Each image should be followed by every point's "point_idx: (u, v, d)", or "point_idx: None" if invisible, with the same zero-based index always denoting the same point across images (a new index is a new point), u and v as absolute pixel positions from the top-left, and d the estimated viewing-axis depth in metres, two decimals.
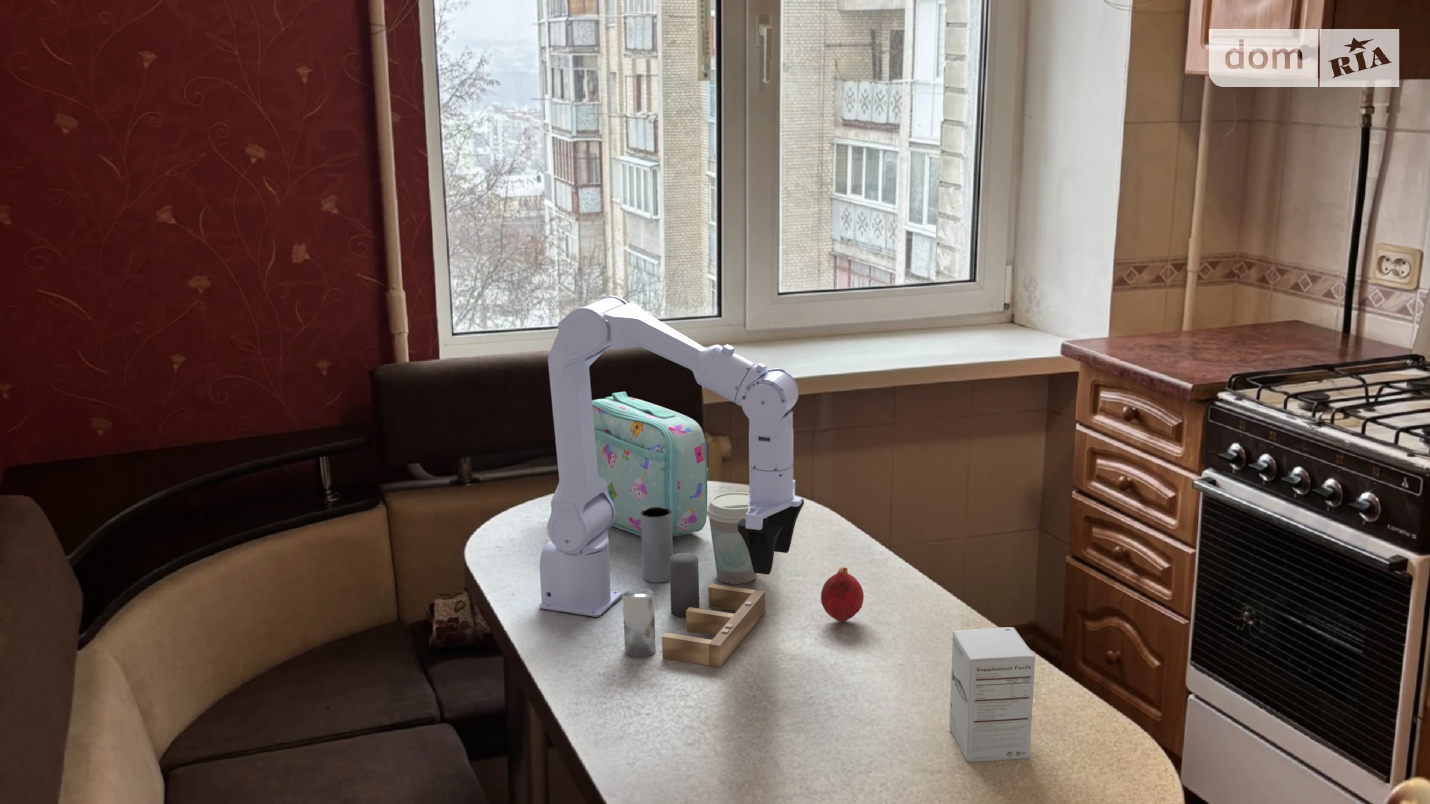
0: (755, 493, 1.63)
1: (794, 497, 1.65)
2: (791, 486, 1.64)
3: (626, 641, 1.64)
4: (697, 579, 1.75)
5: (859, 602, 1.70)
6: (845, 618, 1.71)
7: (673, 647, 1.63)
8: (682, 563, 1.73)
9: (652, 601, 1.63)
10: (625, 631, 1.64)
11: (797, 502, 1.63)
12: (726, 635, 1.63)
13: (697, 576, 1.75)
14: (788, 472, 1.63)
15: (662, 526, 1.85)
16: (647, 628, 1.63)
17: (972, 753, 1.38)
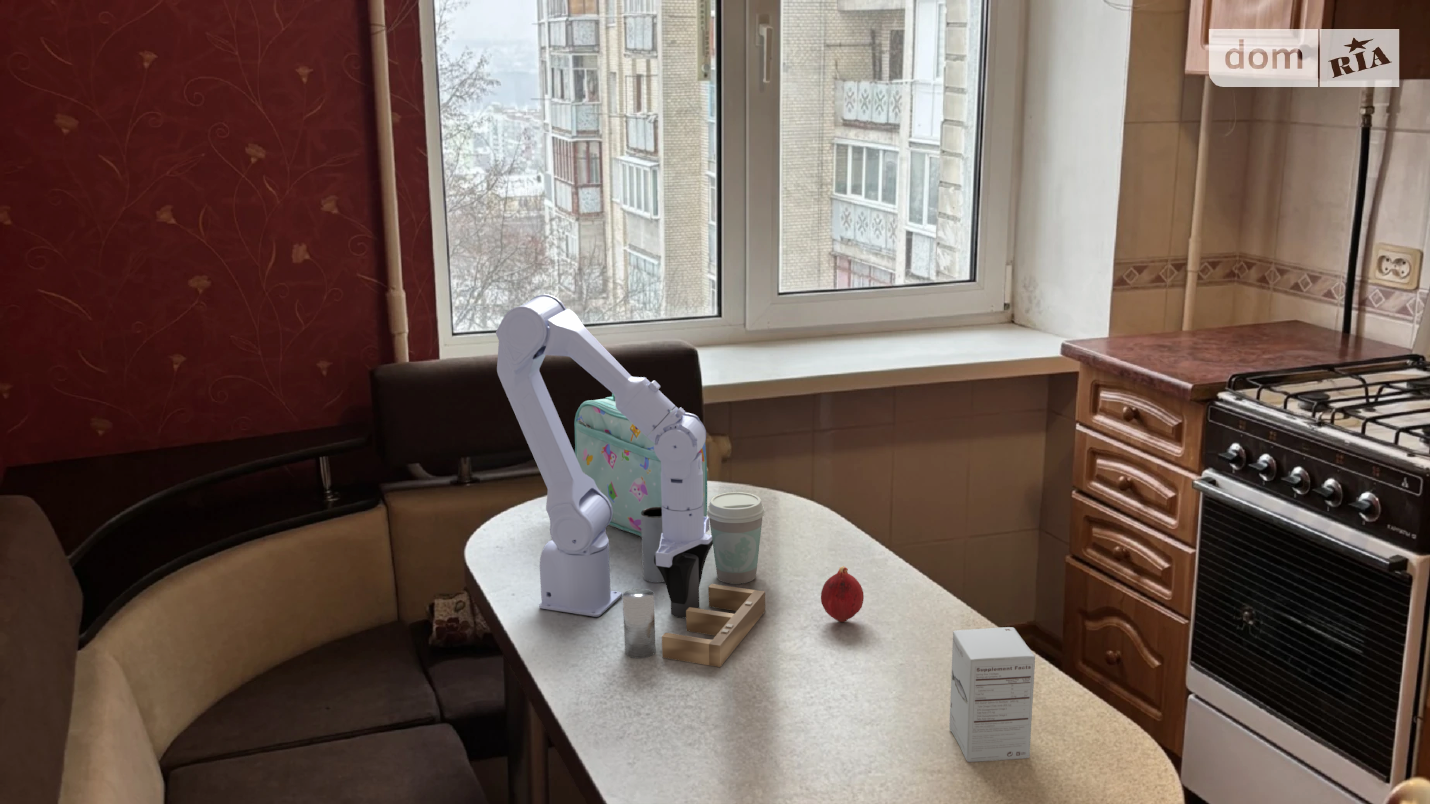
0: (667, 531, 1.72)
1: (705, 535, 1.74)
2: (701, 525, 1.72)
3: (626, 641, 1.64)
4: (697, 579, 1.75)
5: (859, 602, 1.70)
6: (845, 618, 1.71)
7: (673, 647, 1.63)
8: None
9: (652, 601, 1.63)
10: (625, 631, 1.64)
11: (707, 540, 1.72)
12: (726, 635, 1.63)
13: (697, 576, 1.75)
14: (698, 511, 1.71)
15: None
16: (647, 628, 1.63)
17: (972, 753, 1.38)
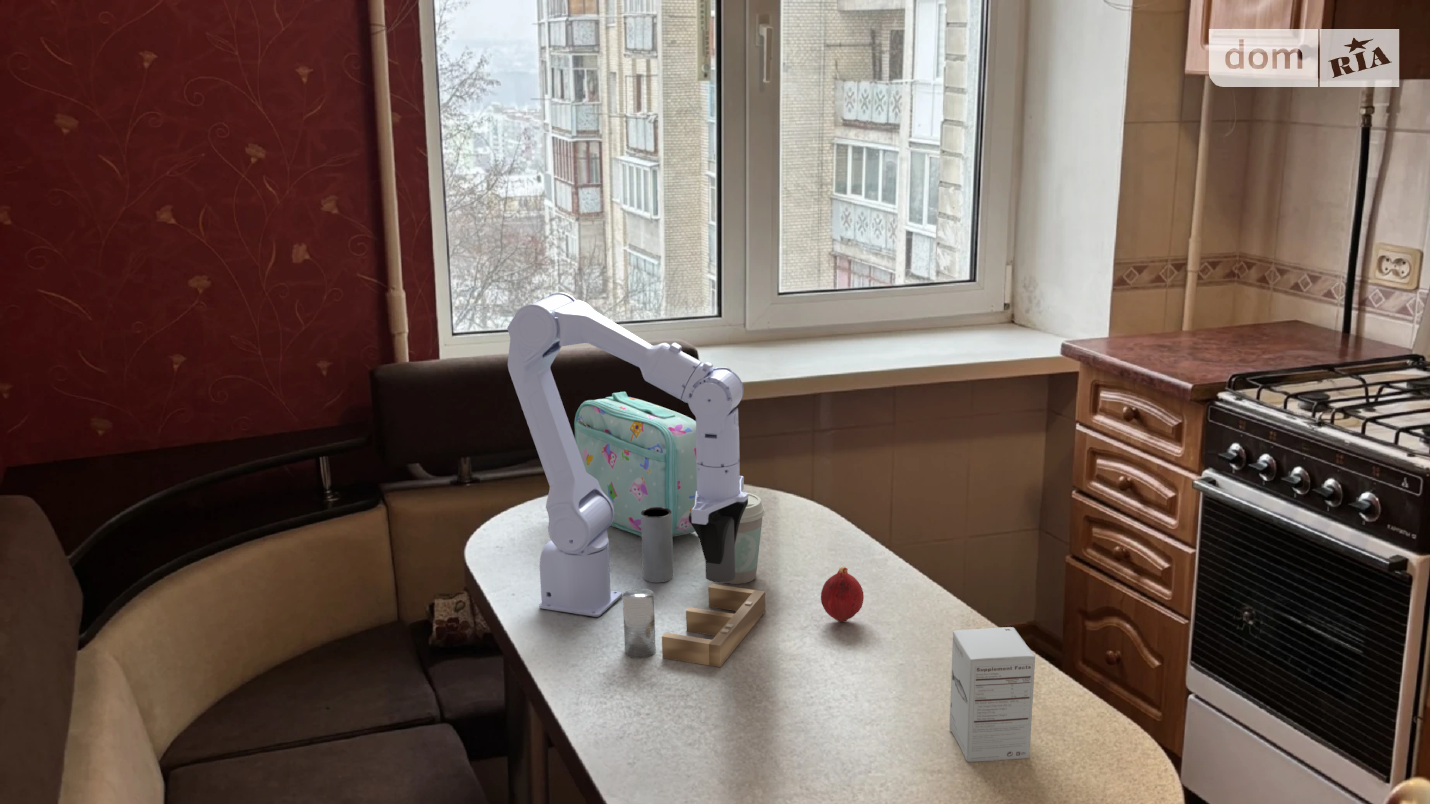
0: (702, 488, 1.67)
1: (740, 493, 1.69)
2: (737, 482, 1.68)
3: (626, 641, 1.64)
4: (733, 542, 1.71)
5: (859, 602, 1.70)
6: (845, 618, 1.71)
7: (673, 647, 1.63)
8: None
9: (652, 601, 1.63)
10: (625, 631, 1.64)
11: (743, 497, 1.67)
12: (726, 635, 1.63)
13: (733, 539, 1.70)
14: (734, 468, 1.67)
15: (662, 526, 1.85)
16: (647, 628, 1.63)
17: (972, 753, 1.38)
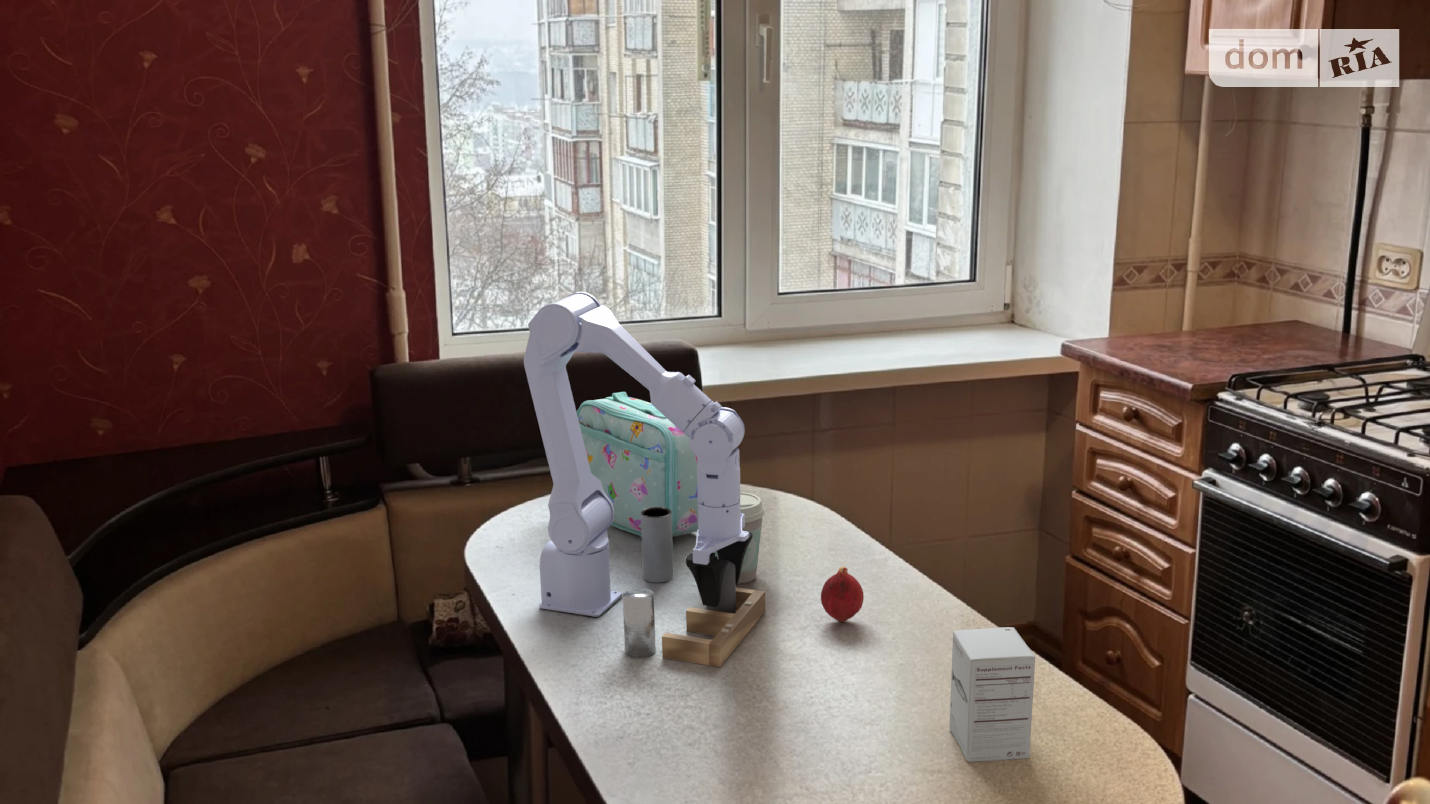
0: (703, 528, 1.69)
1: (741, 532, 1.70)
2: (738, 521, 1.69)
3: (626, 641, 1.64)
4: (734, 587, 1.72)
5: (859, 602, 1.70)
6: (845, 618, 1.71)
7: (673, 647, 1.63)
8: None
9: (652, 601, 1.63)
10: (625, 631, 1.64)
11: (744, 537, 1.69)
12: (726, 635, 1.63)
13: (734, 584, 1.72)
14: (735, 508, 1.68)
15: (662, 526, 1.85)
16: (647, 628, 1.63)
17: (972, 753, 1.38)
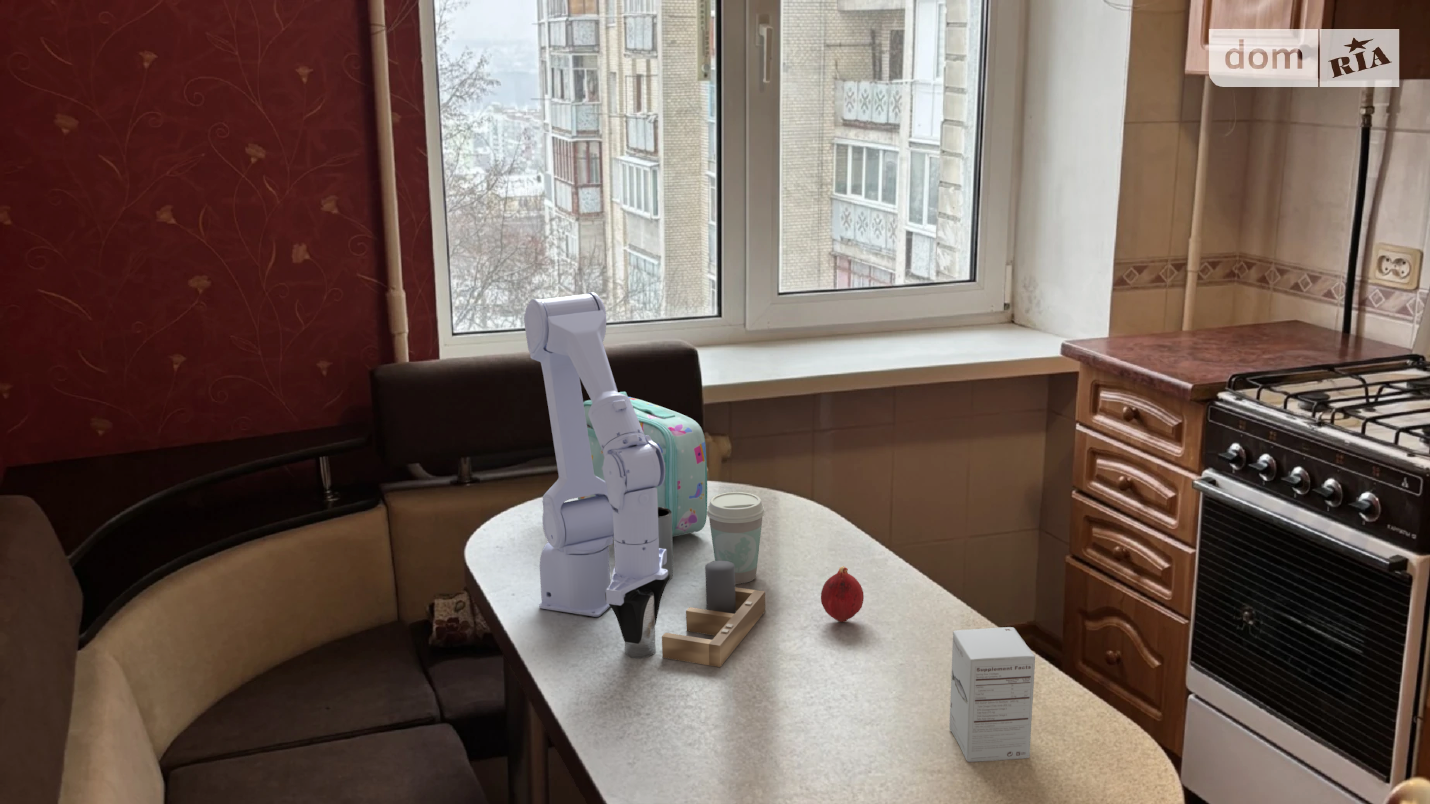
0: (619, 566, 1.61)
1: (660, 569, 1.62)
2: (656, 559, 1.61)
3: None
4: (733, 587, 1.72)
5: (859, 602, 1.70)
6: (845, 618, 1.71)
7: (673, 647, 1.63)
8: (718, 571, 1.71)
9: (652, 601, 1.63)
10: None
11: (662, 575, 1.61)
12: (726, 635, 1.63)
13: (733, 584, 1.72)
14: (652, 545, 1.60)
15: (662, 526, 1.85)
16: (647, 628, 1.63)
17: (972, 753, 1.38)
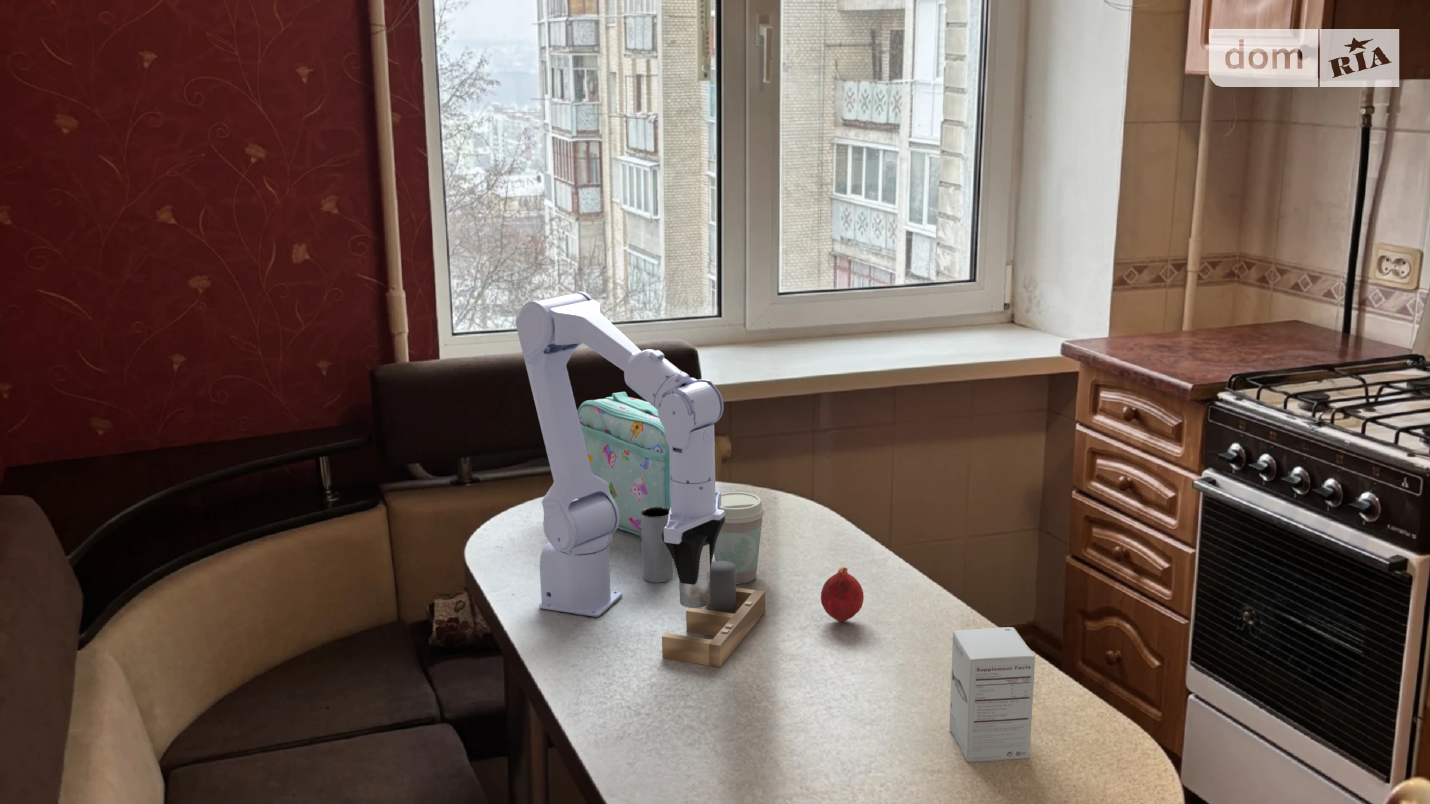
0: (676, 506, 1.60)
1: (716, 510, 1.61)
2: (713, 499, 1.60)
3: (683, 592, 1.63)
4: (734, 587, 1.72)
5: (859, 602, 1.70)
6: (845, 618, 1.71)
7: (673, 647, 1.63)
8: (719, 571, 1.70)
9: (708, 550, 1.63)
10: None
11: (719, 515, 1.60)
12: (726, 635, 1.63)
13: (734, 584, 1.72)
14: (709, 485, 1.59)
15: (662, 526, 1.85)
16: (704, 577, 1.63)
17: (972, 753, 1.38)
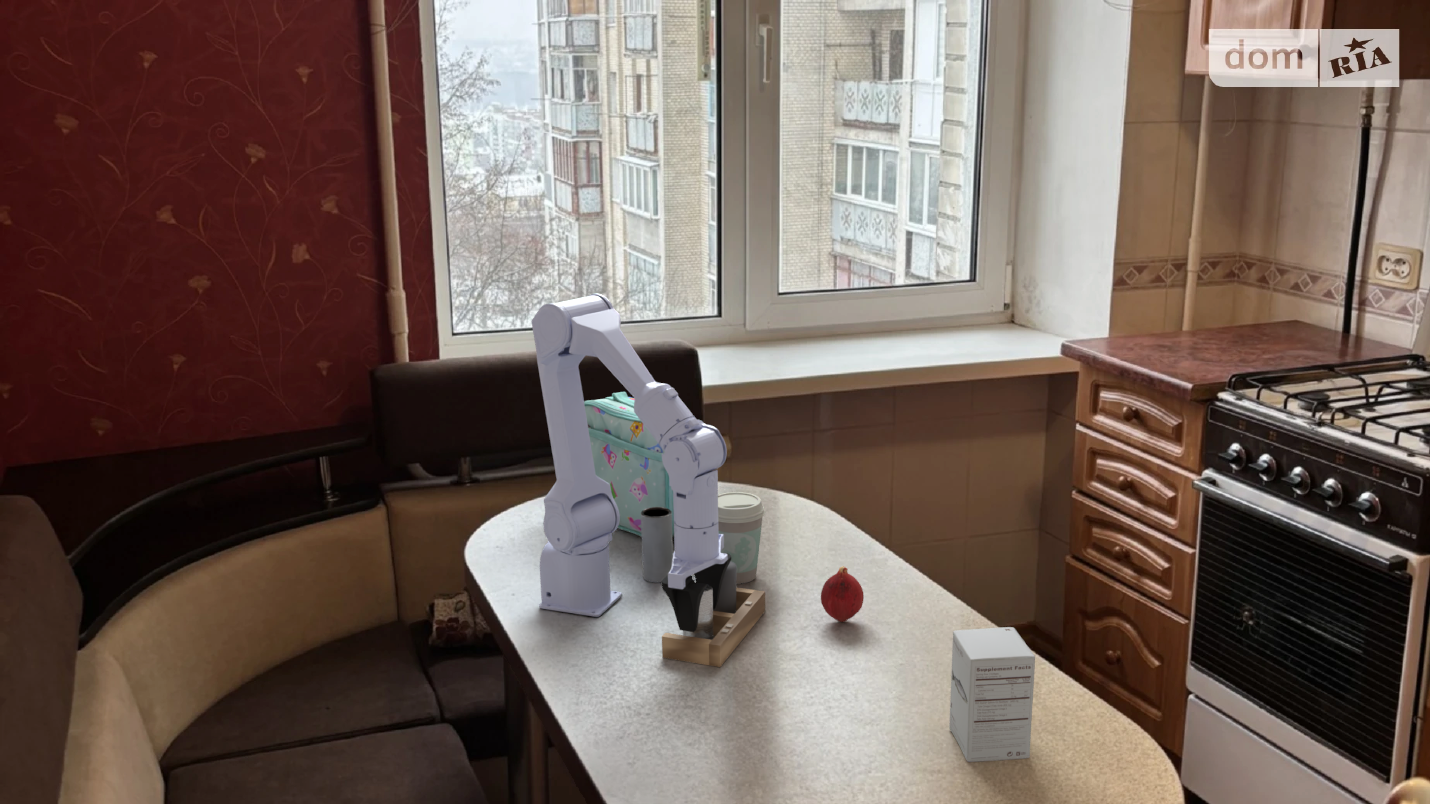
0: (679, 550, 1.61)
1: (720, 554, 1.63)
2: (716, 543, 1.62)
3: None
4: (735, 587, 1.72)
5: (859, 602, 1.70)
6: (845, 618, 1.71)
7: (673, 647, 1.63)
8: None
9: (712, 595, 1.65)
10: None
11: (722, 559, 1.61)
12: (726, 635, 1.63)
13: (735, 584, 1.72)
14: (712, 529, 1.61)
15: (662, 526, 1.85)
16: (707, 623, 1.64)
17: (972, 753, 1.38)
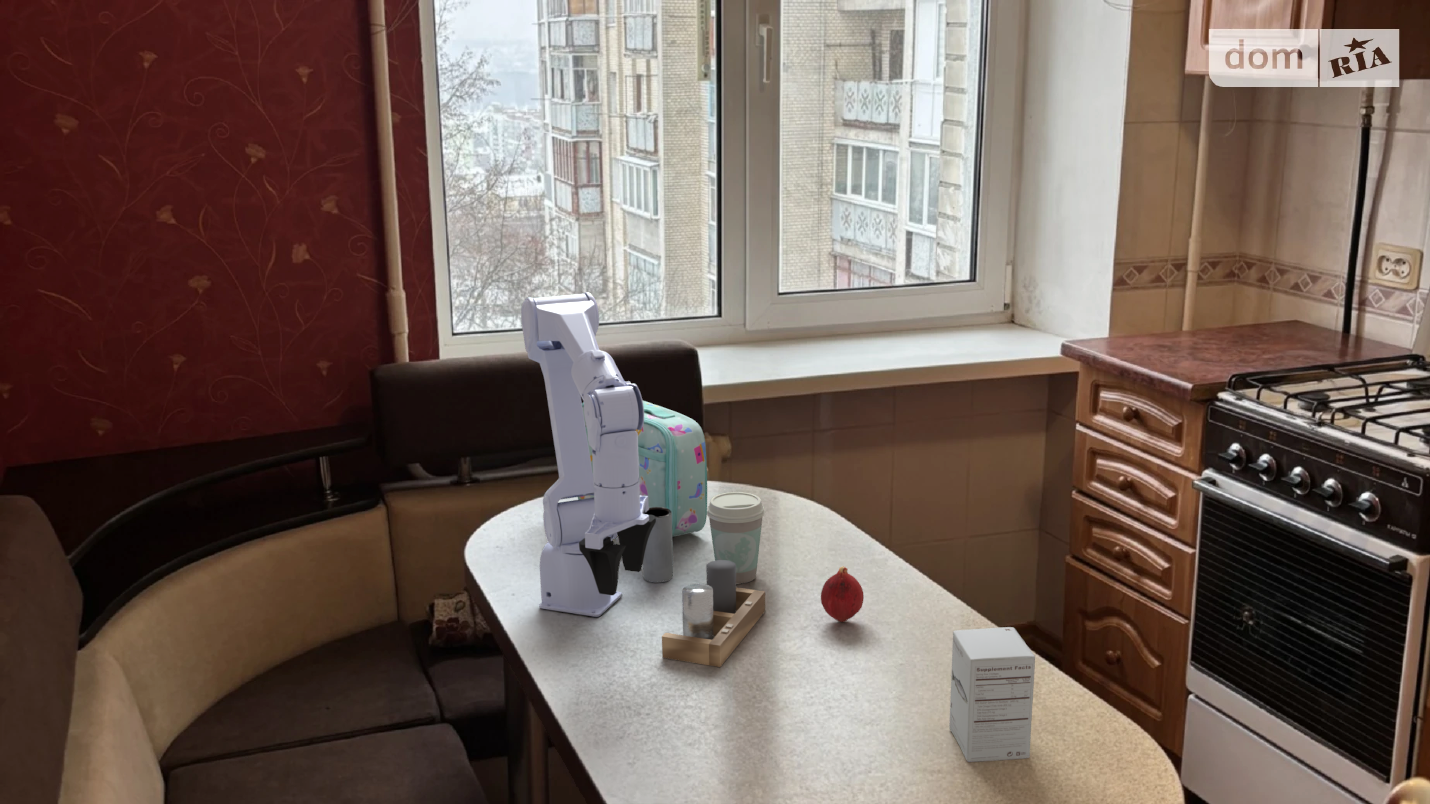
0: (599, 510, 1.57)
1: (641, 515, 1.59)
2: (637, 503, 1.58)
3: None
4: (735, 586, 1.73)
5: (859, 602, 1.70)
6: (845, 618, 1.71)
7: (673, 647, 1.63)
8: (721, 570, 1.71)
9: (712, 595, 1.65)
10: (685, 627, 1.65)
11: (642, 520, 1.57)
12: (726, 635, 1.63)
13: (735, 583, 1.72)
14: (632, 489, 1.57)
15: (662, 526, 1.85)
16: (707, 623, 1.64)
17: (972, 753, 1.38)
